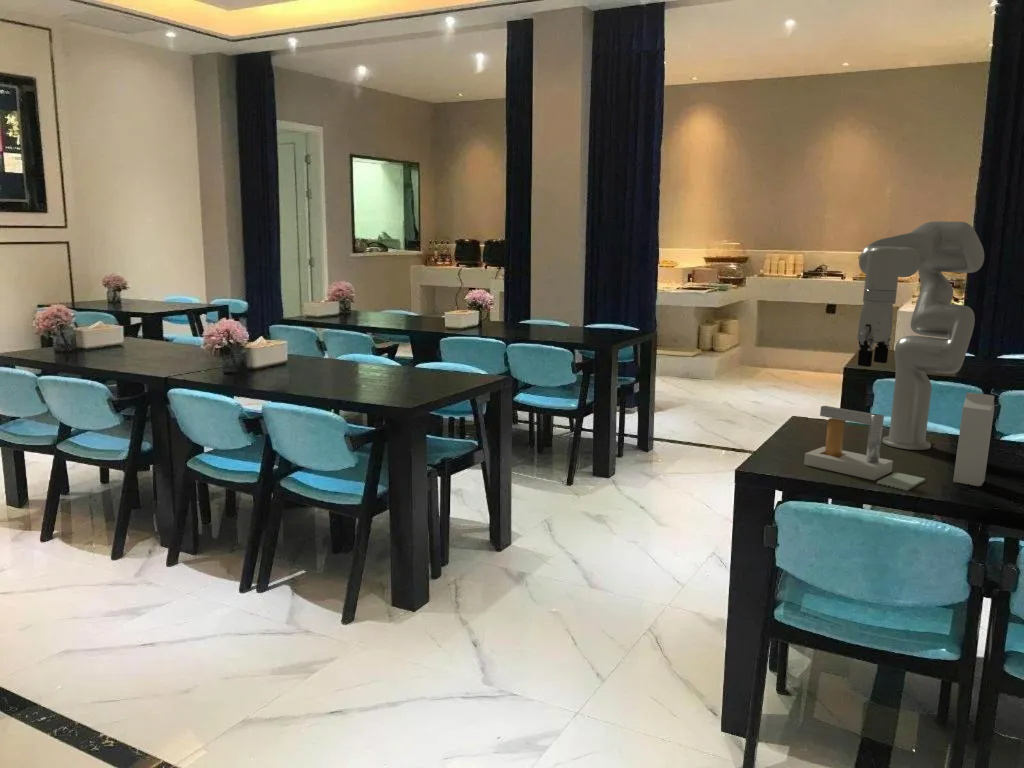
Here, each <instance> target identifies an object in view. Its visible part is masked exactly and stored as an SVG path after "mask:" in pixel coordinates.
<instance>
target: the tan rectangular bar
mask: <svg viewBox="0 0 1024 768" xmlns="http://www.w3.org/2000/svg"><path fill="white" fill-rule="evenodd" d="M845 422H846V421H845V420H840V419H834V418H828V419H827V426H826V427H827V429H826V438H825V439H826V440H825V446H824V447H825V455H829V456H834V457H838V458H839V457H841V454H842V450H843V444H844V443H843V442H844V434H845V425H846V423H845Z"/></svg>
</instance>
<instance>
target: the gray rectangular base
mask: <svg viewBox="0 0 1024 768" xmlns="http://www.w3.org/2000/svg"><path fill="white" fill-rule="evenodd" d="M825 447H826V446H822V447H819V448H816V449H813V450H810V451H808V452H805V453H804V461H803V465H805V466H809V467H814V468H817V469H822V470H826V471H832V472H836V473H840V474H845V475H849V476H853V477H856V478H857V477H858V478H862V479H866V480H871V481H876V480H879V479H881V478H883V477H884V476H886V474H887V475H889V474H890V473H891V474H892V473H893V472H892V470H893V463H894V460H891V459H887V458H882V457H879V462H868V461H866V454H862V453H857V452H853V451H848V450H843V449H842V454H841V457H839V458H838V457H834V456H829V455H825Z"/></svg>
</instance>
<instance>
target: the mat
mask: <svg viewBox="0 0 1024 768" xmlns="http://www.w3.org/2000/svg"><path fill="white" fill-rule="evenodd" d="M925 481H926V478H924V477H919V476H915V475H910V474H907V473H901V472H896V471H895V472H892V473H891V474H890V475H889V474H888V475H887V476H885V477H882V478H880V479H878V480H877V481H876V484H877V485H879V484H881V485H880V486H884V485H886V486H885V487H888V486H890V487H889V488H893V487H894V488H893V489H897V488H898V489H897V490H901V489H902V491H907V492H908V491H909V490H911V489H913V488H915V487H917V486H918V485H920V484H922V483H924V482H925Z"/></svg>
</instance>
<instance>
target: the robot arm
mask: <svg viewBox="0 0 1024 768" xmlns="http://www.w3.org/2000/svg"><path fill="white" fill-rule="evenodd" d="M984 261H985V251H984V247H983V244H982V242H981V241H980V238H979V236H978V234H977V232H976V231H975V229H974V227H973V226H972V225H971V224H969V223H968V222H967V221H966V222H965V221H929V222H928V221H927V222H925V223H923V224H920V225H919V226H918V227H917V228H915V229H913V230H912V231H910V232H908V233H903V234H899V235H894V236H890V237H889V236H888V237H886V238H881V239H877V240H875V241H873V242H871V243H870V244H868V245H867V246H866V247H864V248H863V250H862V252H861V253H860V256H859V259H858V266H859V269H860V271H861V272H862V273H863V274H865V279H864V286H863V288H864V289H863V299H862V302H863V304H862V308H861V311H860V315H859V322H858V329H857V336H856V338H857V341H858V345H859V346H858V357H857V358H858V359H857V365H858V366H859V367H867V368H870V367H872V363H873V362H874V363H880V364H887V363H888V358H889V357H888V356H889V347H890V341H891V338H892V337H891V335H892V327H893V315H894V314H893V313H894V306H893V305H896V301H897V293H898V284H899V283H898V281H899V278H907V277H911V276H914V275H915V274H916V273H917V272H918V276H919V280H920V291H919V294H918V298H917V300H916V304H915V306H914V310H913V313H912V315H911V320H910V329H911V331H913V333H914V334H917V335H907V336H902V337H901V338H899V340H897V342H896V345H894V346H895V347H894V362H895V378H894V379H895V380H894V389H893V397H892V404H891V405H892V406H891V414H890V415H891V416H890V424H889V425H890V426H889V433H888V435H887V436H883V438H882V443H883V444H885V445H887V446H888V447H893V448H897V449H902V450H911V451H923V450H925V451H926V450H930V449H931V446H932V444H931V442H930V441H928V440H926V438H927V430H928V420H929V412H930V404H931V396H932V383H931V381H930V379H929V377H928V375H927V374H926V372H931V373H939V374H946V375H947V374H956V373H958V372H959V371H960V370H961V368H962V366H963V364H964V361H965V358H966V354H967V352H968V348H969V345H970V341H971V338H972V336H973V334H974V333H973V332H974V327H975V321H976V319H975V318H976V317H975V312H974V310H973V309H972V308H971V307H970V306H967V305H964V304H956V303H955V304H953V303H952V300H953V296H954V289H953V286H952V285H951V282H950V281H949V280H948V279H947V277H946V276H944V274H943V273H962V274H963V273H964V274H970V273H971V274H973V273H976V272H978V271H979V270H980V269H981V268H982V266H983V265H984ZM874 344H876V346H875V345H874ZM873 348H874V351H873V350H872V349H873ZM873 352H874V353H873ZM873 354H874V355H873ZM872 361H873V362H872Z"/></svg>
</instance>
